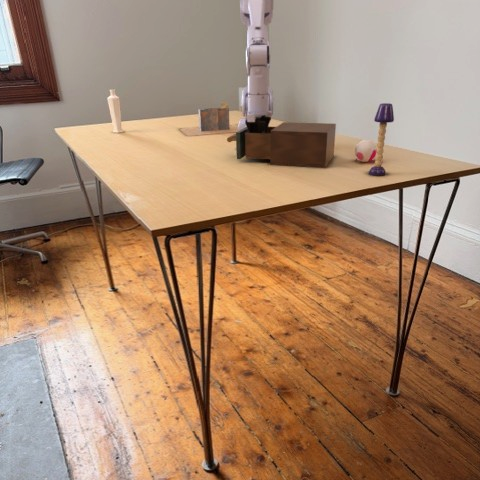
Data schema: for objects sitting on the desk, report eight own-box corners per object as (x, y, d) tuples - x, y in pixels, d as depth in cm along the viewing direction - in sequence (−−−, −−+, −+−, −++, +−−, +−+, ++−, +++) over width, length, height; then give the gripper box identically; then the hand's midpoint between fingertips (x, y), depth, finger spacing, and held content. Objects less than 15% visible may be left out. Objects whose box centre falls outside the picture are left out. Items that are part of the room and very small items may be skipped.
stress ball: (368, 176, 136) (384, 157, 131) (346, 158, 135) (361, 138, 131) (372, 169, 142) (388, 150, 137) (351, 151, 141) (366, 132, 137)
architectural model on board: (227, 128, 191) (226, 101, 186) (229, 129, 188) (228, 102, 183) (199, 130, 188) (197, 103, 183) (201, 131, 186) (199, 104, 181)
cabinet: (270, 164, 137) (270, 130, 132) (282, 153, 148) (283, 122, 144) (325, 167, 132) (327, 132, 128) (333, 156, 144) (335, 123, 139)
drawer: (223, 158, 141) (222, 132, 137) (237, 149, 151) (237, 124, 148) (285, 161, 135) (286, 134, 132) (296, 151, 146) (296, 126, 143)
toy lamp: (366, 171, 128) (374, 102, 119) (384, 171, 128) (393, 102, 119) (370, 175, 124) (378, 105, 115) (388, 175, 123) (398, 104, 115)
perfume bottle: (127, 131, 190) (121, 89, 182) (119, 133, 186) (112, 90, 179) (118, 130, 192) (112, 88, 184) (110, 132, 189) (104, 89, 181)
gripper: (264, 97, 128) (264, 150, 135) (278, 91, 140) (277, 140, 147) (239, 96, 130) (240, 149, 137) (255, 91, 142) (255, 139, 149)
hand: (258, 144), depth 142 cm, fingers closed on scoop, 4 cm apart
